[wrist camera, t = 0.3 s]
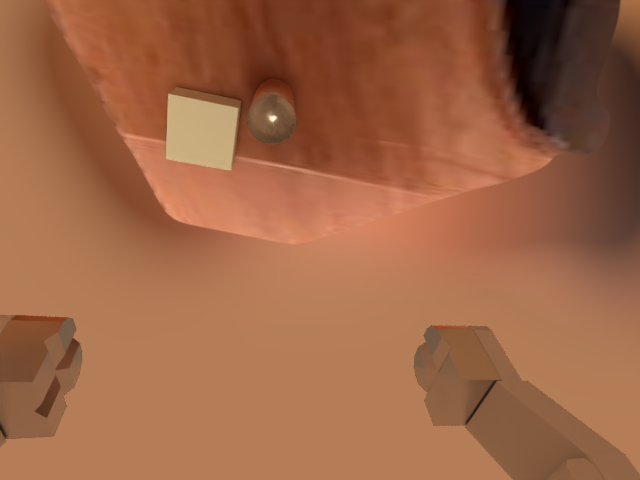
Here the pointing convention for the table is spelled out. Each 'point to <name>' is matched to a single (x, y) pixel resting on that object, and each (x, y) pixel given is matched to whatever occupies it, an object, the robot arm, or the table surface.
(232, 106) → the block
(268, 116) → the clear glass canister
